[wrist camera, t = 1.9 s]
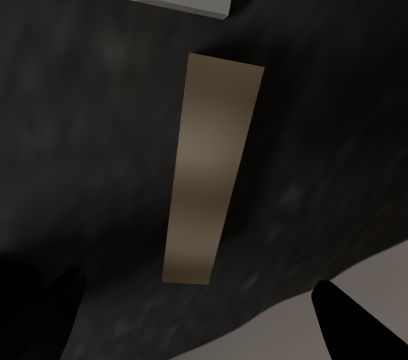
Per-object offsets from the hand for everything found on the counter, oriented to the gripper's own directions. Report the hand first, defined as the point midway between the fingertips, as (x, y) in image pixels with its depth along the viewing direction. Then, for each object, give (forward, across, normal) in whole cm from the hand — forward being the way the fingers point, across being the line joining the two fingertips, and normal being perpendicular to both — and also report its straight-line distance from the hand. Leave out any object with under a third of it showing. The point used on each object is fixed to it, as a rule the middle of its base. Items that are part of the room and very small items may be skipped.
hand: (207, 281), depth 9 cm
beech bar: (+10, 0, 0) cm, 10 cm away
